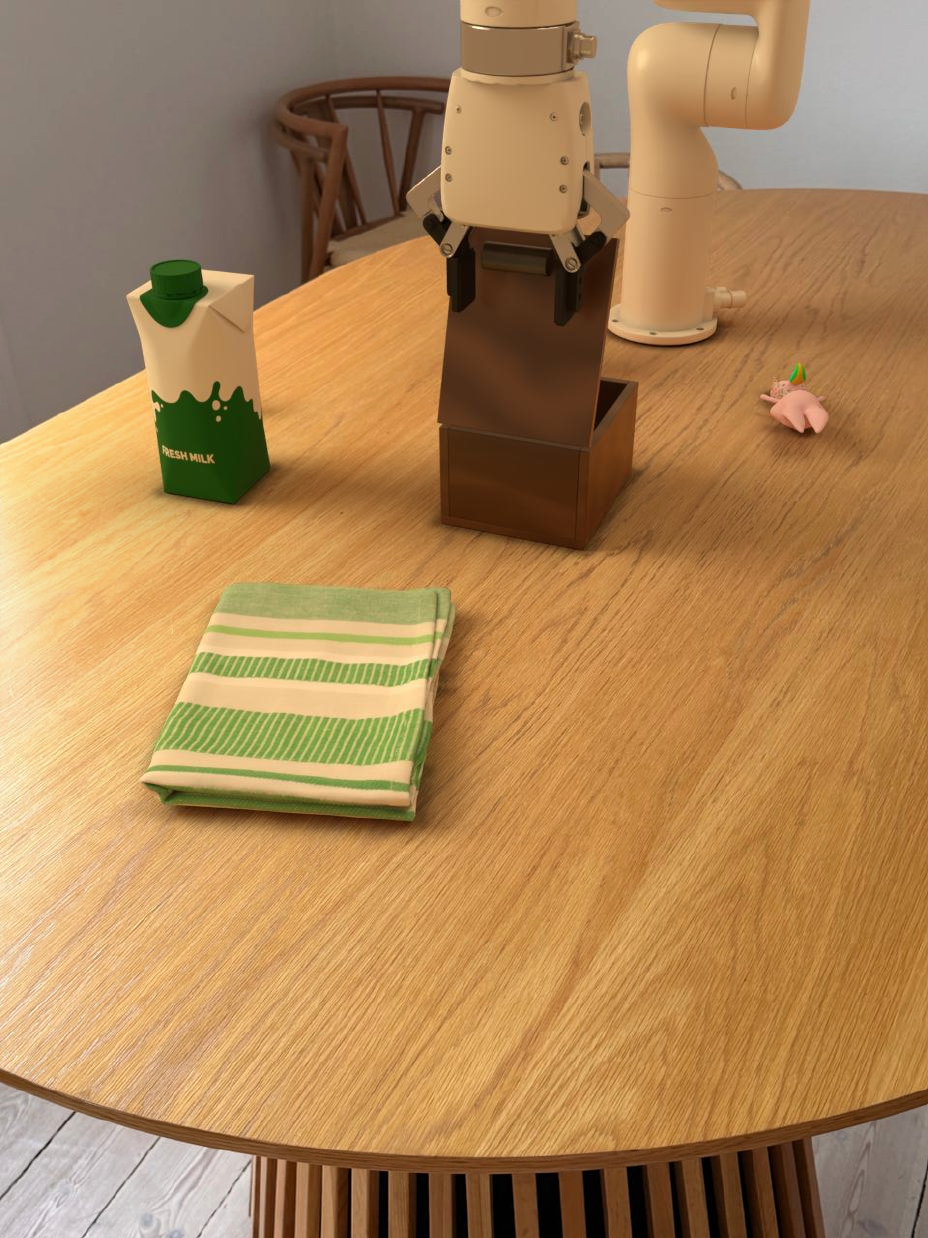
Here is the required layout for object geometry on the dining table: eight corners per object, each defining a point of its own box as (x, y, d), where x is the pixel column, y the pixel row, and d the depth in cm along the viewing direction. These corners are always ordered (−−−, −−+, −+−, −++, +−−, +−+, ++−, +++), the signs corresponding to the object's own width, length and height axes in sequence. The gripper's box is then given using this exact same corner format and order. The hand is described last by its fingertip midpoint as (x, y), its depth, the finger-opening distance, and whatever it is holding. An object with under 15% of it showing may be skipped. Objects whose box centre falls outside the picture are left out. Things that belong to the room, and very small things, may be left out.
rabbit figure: (751, 406, 124) (772, 449, 111) (758, 348, 122) (780, 384, 108) (813, 408, 124) (842, 451, 110) (821, 349, 121) (851, 386, 108)
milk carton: (149, 496, 107) (110, 270, 95) (200, 452, 114) (169, 237, 102) (238, 511, 104) (209, 282, 93) (285, 465, 111) (263, 247, 100)
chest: (500, 450, 113) (501, 361, 108) (631, 472, 110) (638, 381, 105) (440, 523, 102) (438, 427, 97) (584, 550, 98) (589, 452, 93)
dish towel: (458, 610, 91) (457, 579, 90) (424, 829, 72) (423, 795, 70) (225, 601, 93) (220, 570, 91) (130, 813, 73) (123, 779, 72)
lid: (460, 220, 93) (435, 217, 88) (620, 238, 89) (602, 235, 84) (440, 421, 97) (415, 428, 93) (591, 446, 94) (572, 454, 89)
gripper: (662, 48, 80) (641, 311, 90) (418, 34, 85) (425, 283, 95) (632, 69, 74) (613, 346, 84) (372, 52, 79) (384, 315, 89)
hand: (513, 311), depth 89 cm, fingers open, 7 cm apart
